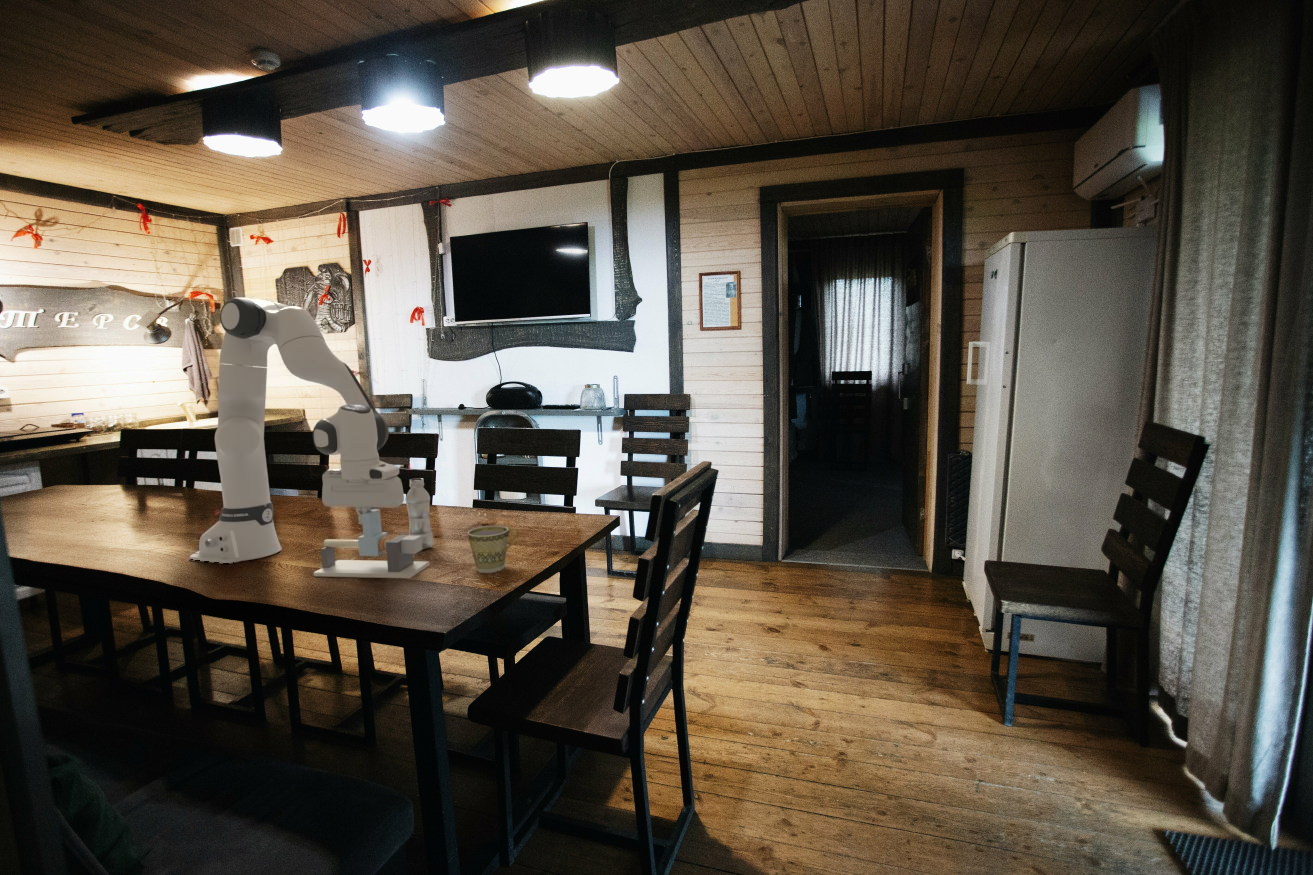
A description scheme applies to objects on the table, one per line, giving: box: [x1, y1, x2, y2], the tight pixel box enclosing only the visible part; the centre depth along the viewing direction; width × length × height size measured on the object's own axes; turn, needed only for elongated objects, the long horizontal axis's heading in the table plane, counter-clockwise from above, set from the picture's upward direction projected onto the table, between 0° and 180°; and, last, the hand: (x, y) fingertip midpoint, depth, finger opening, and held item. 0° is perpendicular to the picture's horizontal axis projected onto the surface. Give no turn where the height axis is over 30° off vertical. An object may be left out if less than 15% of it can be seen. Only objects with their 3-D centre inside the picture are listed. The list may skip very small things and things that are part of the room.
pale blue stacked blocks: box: [357, 508, 389, 557], centre depth 162 cm, size 5×5×11 cm
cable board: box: [313, 534, 430, 579], centre depth 163 cm, size 26×10×9 cm, turn 82°
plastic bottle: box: [404, 477, 434, 551], centre depth 180 cm, size 6×7×20 cm
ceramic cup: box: [467, 525, 520, 574], centre depth 162 cm, size 13×10×10 cm
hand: (364, 523), depth 162 cm, fingers closed, pressing on pale blue stacked blocks
